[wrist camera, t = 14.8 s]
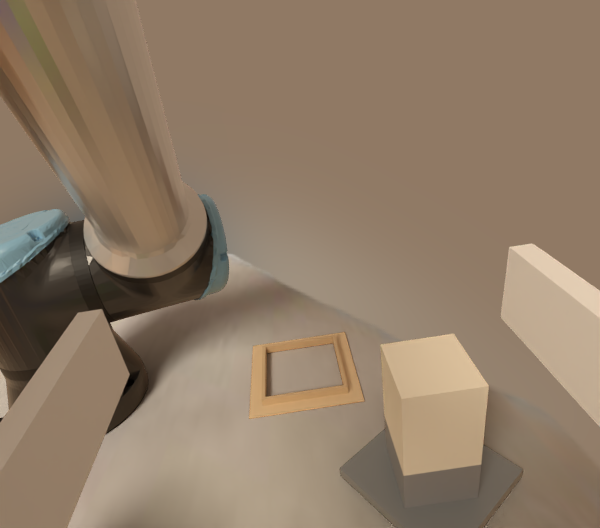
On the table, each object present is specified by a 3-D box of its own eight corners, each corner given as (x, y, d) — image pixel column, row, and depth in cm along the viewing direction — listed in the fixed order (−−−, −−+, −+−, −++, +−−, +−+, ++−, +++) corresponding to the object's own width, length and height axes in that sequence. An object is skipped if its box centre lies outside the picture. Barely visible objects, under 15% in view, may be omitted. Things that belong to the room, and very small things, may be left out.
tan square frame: (249, 418, 45) (247, 412, 45) (253, 346, 57) (251, 340, 56) (364, 401, 45) (363, 394, 45) (344, 332, 57) (344, 326, 56)
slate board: (340, 475, 38) (339, 468, 37) (415, 408, 43) (415, 401, 43) (447, 575, 30) (447, 567, 29) (521, 477, 35) (523, 469, 35)
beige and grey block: (404, 508, 33) (401, 399, 28) (386, 446, 39) (380, 344, 33) (477, 497, 33) (488, 386, 28) (449, 436, 39) (453, 333, 33)
